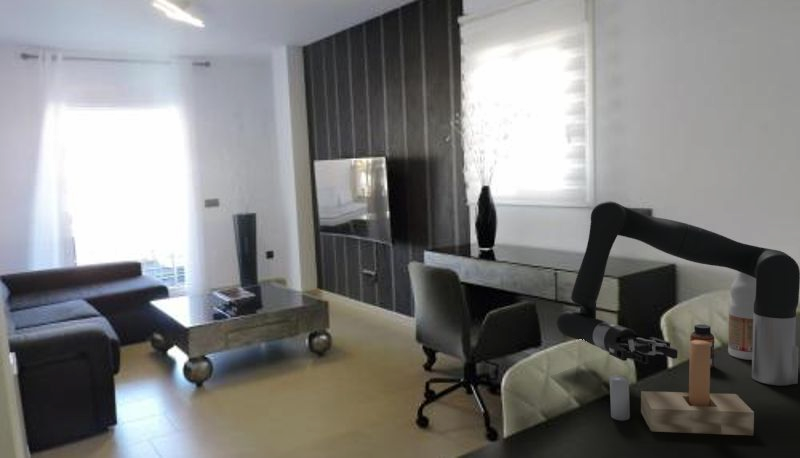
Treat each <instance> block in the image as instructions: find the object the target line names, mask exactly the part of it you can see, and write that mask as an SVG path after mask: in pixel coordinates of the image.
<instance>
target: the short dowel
mask: <svg viewBox="0 0 800 458" xmlns="http://www.w3.org/2000/svg"><path fill="white" fill-rule="evenodd" d="M609 397H610V416H611V418H612V419H613V420H617V421H628V420H629V419H630V417H631V413H630V412H631V410H630V407H631V406H630V405H631V404H630V383H629V377H628V376H625V375H621V374H615V375H611V376H609Z"/></svg>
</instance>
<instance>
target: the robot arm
mask: <svg viewBox="0 0 800 458" xmlns="http://www.w3.org/2000/svg"><path fill="white" fill-rule="evenodd" d="M589 227H590V228H589V233H588V234H589V235H588V239H587V240H588V241H587V243H586V248H585V252H584V254H583V255H584V256H583V258H582V261H581V263H580V267H579V269H578V273H577V275H576V277H575V278H576V279H575V282H574V285H573V289H572V291H571V296H570V298H571V301H572V302H573V303H574V304H576V305H578V306H579V312H578V311H573V310H565V311H563V312H561V313H560V314H559V315H558V316H557V318H556V327H557V329H558V331H559V333H560V334H561V335H563V336H565V337H568V338H571V339H575V340H579V339H582V340H581V341H583V339H584V340H585V341H584V342H586V341H587V342H586V343H588V344H590V345H592V346H595V347H597V348H600V349H601V350H602V351H604V352H607V353H608V354H609V355H610V356H612V357H614V358H616V359H619V360H621V361H623V362H624V361H625V362H626V361H628V359H629V361H637V362H639V363H641V364H644V365H647V364H649V356H655V355H661V356H662V355H663V356H665V357H667V358H671V359H674V360H675V359H678V350H677V349H676V348H673V347H671V342H669V341H667V340H664V339H660V338H657V337H653V336H651V337H649V339H645V338H642V337H639V336H638V333H636V332H635V330H633V329H631V328H629V327H624V326H623V325H619V324H617V323H612V322H608V321H604V320H602V319H598V318H597V301H598V297H599V296H600V295H599V294H600V292H601V288H602V285H603V282H604V278H605V273H606V269H607V268H606V267H607V263H608V260H609V257H610V253H611V251H612V247H613V245H614V243H615V242H616V239H617V237H618V236H621V237H625V238H629V239H633V240H635V241H636V240H637V241H639V242H642V243H644V244H646V245H648V246H650V247H652V248H655V249H656V250H658V251H661V252H662V253H664V254H668V255H670V256H672V257H673V256H674V257H677V258H679V259H683V260H685V261H688V262H692V263H696V264H700V265H701V264H702V265H707V266H713V267H721V268H727V269H729V270H730V269H731V270H734V271H736V272H738V271H739V272H742V273H744V274H747V275H749V276H751V277H754V278H756V297H755V302H754V310H753V349H752V360H751V378H752V379H753V380H755V381H756V382H759V383H762V384H765V385H772V386H790V385H797V384H798V381H799V379H798V378H799V377H798V375H799V353H800V352H799V350H800V349H799V347H798V346H797V345H796V330H797V329H796V324H797V309H798V306H799V300H800V266H799V264H798V263H797V261H796V260H795V259H794V258H793V257H792V256H790V255H789V254H787V253H786V252H783V251H781V250H777V249H772V248H766V247H761V246H757V245H751V244H747V243H742V242H739V241H736V240H733V239H731V238H729V237H726V236H725V235H722V234H719V233H717V232H714V231H712V230H708V229H705V228H702V227H699V226H695V225H692V224H689V223H685V222H681V221H677V220H672V219H668V218H661V217H655V216H651V215H647V214H644V213H640V212H638V211H636V210H635V209H634V210H633V209H631V208H628V207H626V206H624V205H622V204H620V203H618V202H616V201H611V200H610V201H609V200H608V201H601V202H600V203H598V204H596V206H594V207H593V209H592V211H591V213H590V226H589ZM579 341H580V340H579ZM650 348H651V349H652V351H650Z"/></svg>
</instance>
